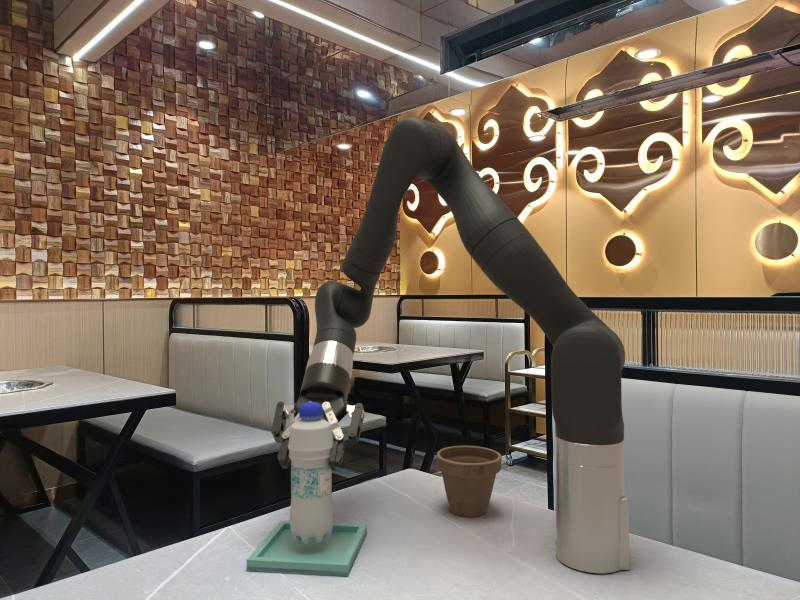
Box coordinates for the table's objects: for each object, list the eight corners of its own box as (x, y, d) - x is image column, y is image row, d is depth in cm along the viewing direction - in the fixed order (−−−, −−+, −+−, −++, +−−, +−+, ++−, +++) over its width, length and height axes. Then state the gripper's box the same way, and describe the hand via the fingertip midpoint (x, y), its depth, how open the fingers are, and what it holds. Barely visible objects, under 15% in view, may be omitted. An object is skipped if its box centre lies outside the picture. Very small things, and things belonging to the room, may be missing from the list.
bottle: (326, 549, 79) (325, 406, 79) (281, 545, 81) (280, 405, 81) (340, 530, 86) (339, 398, 86) (298, 527, 87) (297, 397, 87)
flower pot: (507, 523, 93) (507, 462, 93) (438, 523, 93) (438, 462, 93) (496, 499, 105) (495, 445, 105) (434, 499, 105) (434, 445, 105)
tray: (366, 534, 89) (366, 524, 89) (347, 576, 75) (347, 565, 75) (280, 530, 91) (280, 520, 91) (246, 570, 77) (246, 559, 77)
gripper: (280, 360, 92) (253, 452, 80) (368, 360, 90) (353, 454, 78) (291, 388, 97) (266, 478, 85) (373, 389, 95) (360, 481, 83)
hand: (308, 466), depth 82 cm, fingers closed on bottle, 6 cm apart
